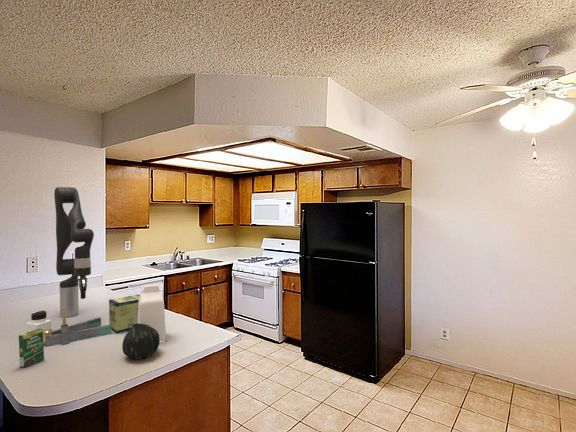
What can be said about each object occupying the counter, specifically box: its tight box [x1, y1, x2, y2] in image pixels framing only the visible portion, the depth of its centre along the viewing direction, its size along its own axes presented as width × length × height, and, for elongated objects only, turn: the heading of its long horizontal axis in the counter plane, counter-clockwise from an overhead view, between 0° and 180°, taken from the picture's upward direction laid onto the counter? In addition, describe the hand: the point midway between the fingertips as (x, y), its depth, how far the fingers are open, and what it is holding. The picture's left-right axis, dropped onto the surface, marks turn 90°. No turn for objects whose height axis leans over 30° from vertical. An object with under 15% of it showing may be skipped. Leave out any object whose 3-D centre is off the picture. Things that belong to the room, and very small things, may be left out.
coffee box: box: [18, 328, 45, 369], centre depth 137 cm, size 8×3×13 cm, turn 159°
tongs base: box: [43, 323, 113, 347], centre depth 164 cm, size 11×29×6 cm, turn 126°
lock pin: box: [61, 309, 67, 326], centre depth 164 cm, size 2×2×9 cm
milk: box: [138, 284, 167, 343], centre depth 162 cm, size 12×12×26 cm
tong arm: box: [50, 316, 102, 335], centre depth 170 cm, size 2×24×4 cm, turn 151°
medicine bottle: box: [26, 310, 52, 338], centre depth 166 cm, size 7×7×12 cm
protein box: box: [108, 294, 141, 335], centre depth 178 cm, size 10×16×16 cm
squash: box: [121, 323, 160, 360], centre depth 144 cm, size 14×15×15 cm
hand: (83, 298), depth 180 cm, fingers closed
